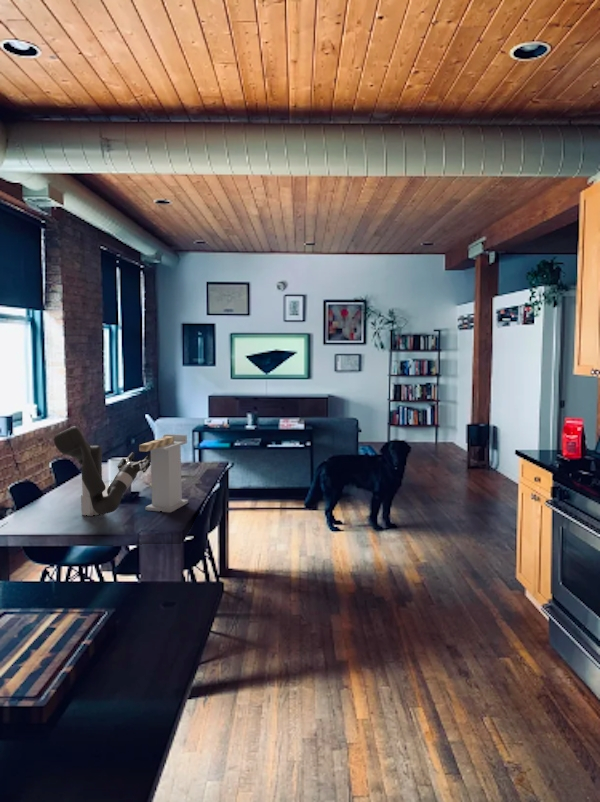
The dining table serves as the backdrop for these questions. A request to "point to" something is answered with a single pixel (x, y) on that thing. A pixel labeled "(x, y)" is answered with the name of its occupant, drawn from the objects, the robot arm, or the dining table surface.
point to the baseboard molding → (105, 489)
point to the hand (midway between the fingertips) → (141, 454)
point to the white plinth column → (167, 476)
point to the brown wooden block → (156, 443)
